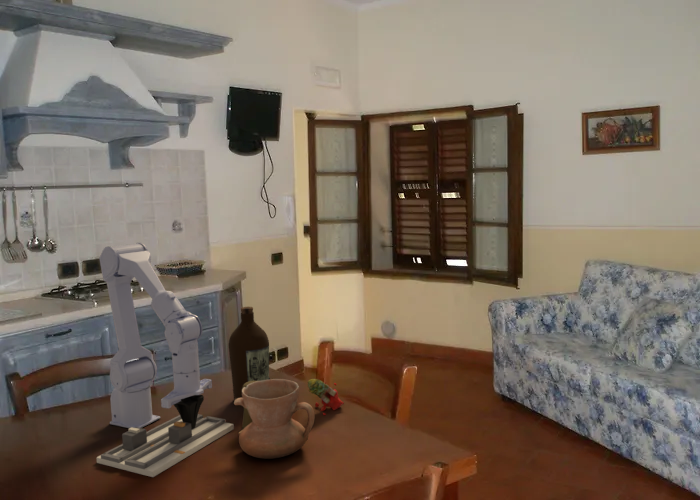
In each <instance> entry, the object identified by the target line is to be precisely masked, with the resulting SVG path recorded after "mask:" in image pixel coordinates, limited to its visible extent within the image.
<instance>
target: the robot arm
mask: <svg viewBox="0 0 700 500" xmlns="http://www.w3.org/2000/svg"><path fill="white" fill-rule="evenodd" d="M151 262H152V254H151V252H150V251H149V249H148V247H147V245H145V244H144V243H143V242H136V243H131V244H121V245H114V246H112V245H110V246H105V247H103V250H102V251H101V253H100V256H99V265H100V269H101V276H102V279H103V281H104V282H106V286H107V291H108V297H109V302H110V309H111V314H112V318H113V319H112V321H113V324H114V329H115V336H116V340H117V341H116V342H117V346H118V347H117V348H118V351H117V352H116V353H115V354H114V355H113V356H112V357H111V359H110V360H109V365H110V371H109V378H110V379H109V380H110V383H111V384H112V386H113V390H112V392H111V394H110V412H111V421H109V424H110V425H113V426H117V427H122V428H127V429H129V428H131V427H133V428H136V427H138V428H142V429H143V427H146V426H147V425H150V424H151V423H153V422H156V421H158V420H159V419H161V416H160V415H155V414H153V406H152V405H153V404H152V393H151V385H153V384H154V382H153V381H154V380H155V379H156V378H157V373H158V368H157V367H158V366H157V365H156V362H155V360H154V359H153V354H152V351H151V350H149V349H147V348H145V347H144V346H142V344H141V337H140V331H139V326H138V321H137V315H136V309H135V303H134V299H133V297H134V296H133V293H132V287H131V282H132V281H133V280H134V279H135V280H136V281H137V282H138V283H139V285H140V286H141V287H142V288H143V290H144V291H145V292H146V293H147V295H149V297H150V298H151V303H150V307H151V308H152V310H153V311H154V313H155V314H156V315H157V317H158V319H159V320H160V321H161V323H162V324H163V326H164V328H165V329H164V331H163V333H164V337H165V340H166V342H167V344H168V350H169V352H170V353H171V361H172V375H173V376H172V377H173V389H172V390H171V391H170V392H169V393H168V394H167V395H165V396H164V397H162V398H160V403H161V408H162V409H170V408H172V406H174V407H175V409H176V410H177V412H178V415H180V416H181V418H182V421H183V422H187V423H191V429H194V428H195V426H196V421H197V416H198V414H199V411H200V409H201V406H202V404H203V402H204V399H205V396H204V395H203V394H204V390H206V389H209V390H210V389H212V388H213V382H212V381H213V379H209V378H203V379H201V376H200V361H199V359H200V358H199V344H198V340H199V339H200V338H201V337H202V335H203V325H202V322H201V320H200V318H199V316H197V315H196V314H193V313H191V311H187V310H186V308H184V307H185V306H183V305H182V303H181V301H180V299H178V297H177V295H176V294H175V293H174V292H173V291H171V290H166V288H165V287H164V285H163V283H162V282H161V280H160V278H159V277H158V275H157V273H156V271H155V270H154V268H153V266H152V264H151Z"/></svg>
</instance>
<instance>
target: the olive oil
mask: <svg viewBox="0 0 700 500" xmlns="http://www.w3.org/2000/svg"><path fill="white" fill-rule="evenodd" d="M228 352H229V361H230V371H231V379H232V392H233V401H235V400H236V399H237V398H242V387H243V385H244V384H245V383H246V382H249V381H262V380H269V379H270V380H271V378H270V340H269V337H268V335H267V333H266V331H265V330H264V329H263V328H262V327H261V326H259V324H257V323H256V321H255V315H254V307H253V306H243V307H240V323H239V324H238V326H237V327H236V328H235V329H234V330H233V331H232V332H231V334H230V337H229V340H228Z"/></svg>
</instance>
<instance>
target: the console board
mask: <svg viewBox="0 0 700 500" xmlns="http://www.w3.org/2000/svg"><path fill="white" fill-rule="evenodd" d="M177 421H178V422H180V421H182V418H181V416H180V414H178V415H177V416H175V417H173V418H171V419H168V420H167V421H165V422H163V423H161V424H159V425H157V426H155V427H152V428H151V429H150V430H148V431H147V430H146V434H147V443H145V444H144V445H142V446H140V447H138V448H136V449H134V450H132V451H129V450H125V449H123V443H121V444H120V445H117V446H115V447H113V448H111V449H109V450H108V451H107V450H106V451H105V452H104V453H102V454H100V455H98V456H97V457H96V463H97V464H100V465H104V466H107V467H108V466H109V467H112V468H116V469H119V470H124V471H126V472H131V473H135V474H139V475H143V476H148V477H151V478H154V477H157V476H158V475H159V474H161V473H162V472H164V471H166V470H167V469H170V468H171V467H172V466H175V465H177V464H178V463H179V462H181V461H182V460H184V459H186V458H188V457H189V456H191V455H192V454H194V453H196V452H198V451H199V450H201V449H203V448H204V447H207V446H208V445H209V444H211V443H213V442H214V441H216V440H218V439H219V438H221V437H223V436H224V435H226V434H228V433H229V432H231V431H233V430H234V429H235V426H234V423H230V422H226V418H220V417H214V416H209V415H207V416H205V417H203V414H199V413H198V416H197V421H196V426H195V428H194V429H192V437H190V438H188V439H186V440H185V441H183V442H181V443H179V444H173V443H169V432H168V428H169V427H171V426H173V425H174V423H175V422H177ZM182 422H183V421H182Z"/></svg>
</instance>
